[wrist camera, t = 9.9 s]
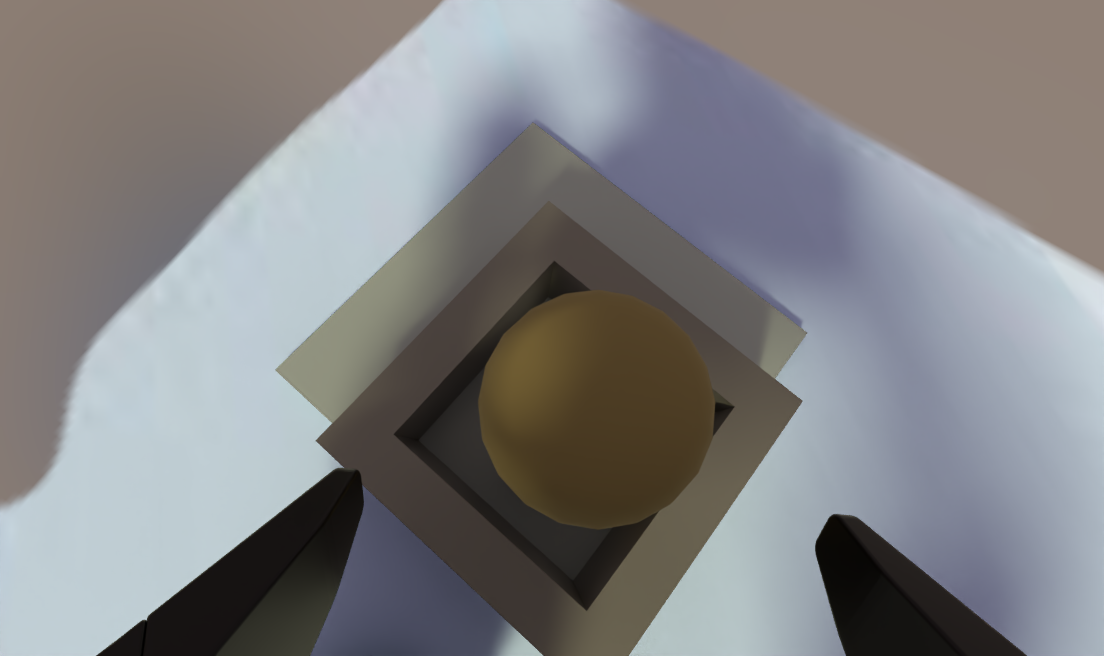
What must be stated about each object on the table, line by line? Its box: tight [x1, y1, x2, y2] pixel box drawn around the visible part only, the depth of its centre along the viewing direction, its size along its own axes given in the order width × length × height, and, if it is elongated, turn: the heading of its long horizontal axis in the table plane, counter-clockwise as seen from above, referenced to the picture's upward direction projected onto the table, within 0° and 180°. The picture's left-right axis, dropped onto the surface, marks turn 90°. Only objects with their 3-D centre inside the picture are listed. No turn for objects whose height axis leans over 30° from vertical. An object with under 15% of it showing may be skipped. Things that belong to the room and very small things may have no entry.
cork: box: [478, 290, 715, 530], centre depth 15 cm, size 6×6×11 cm
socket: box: [276, 123, 807, 656], centre depth 19 cm, size 16×16×5 cm
